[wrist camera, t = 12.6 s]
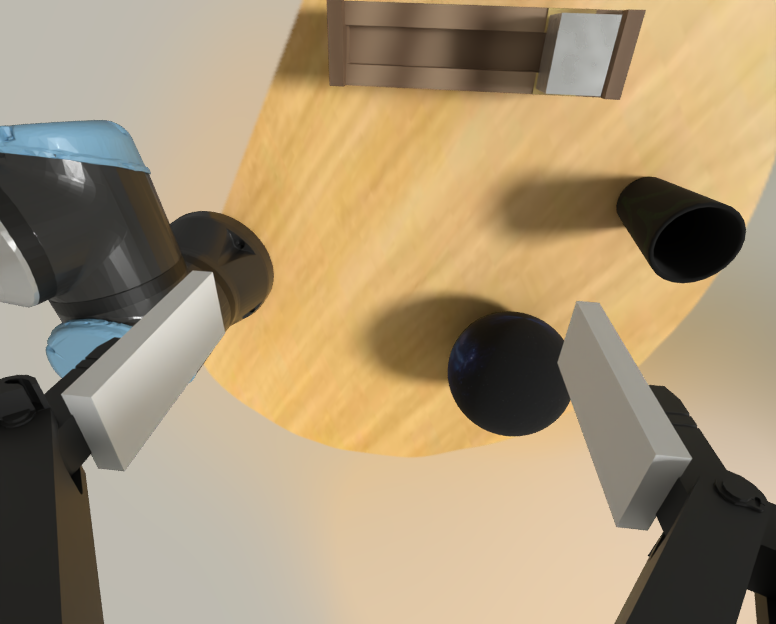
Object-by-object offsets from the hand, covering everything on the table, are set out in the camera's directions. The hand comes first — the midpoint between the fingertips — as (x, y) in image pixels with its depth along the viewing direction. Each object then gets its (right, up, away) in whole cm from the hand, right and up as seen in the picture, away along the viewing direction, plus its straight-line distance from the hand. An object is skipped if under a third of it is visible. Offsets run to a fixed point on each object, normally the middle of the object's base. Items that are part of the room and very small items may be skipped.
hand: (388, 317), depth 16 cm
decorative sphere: (+16, -3, +44) cm, 47 cm away
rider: (+15, +22, +21) cm, 33 cm away
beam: (+8, +26, +26) cm, 38 cm away
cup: (+28, +13, +33) cm, 45 cm away
